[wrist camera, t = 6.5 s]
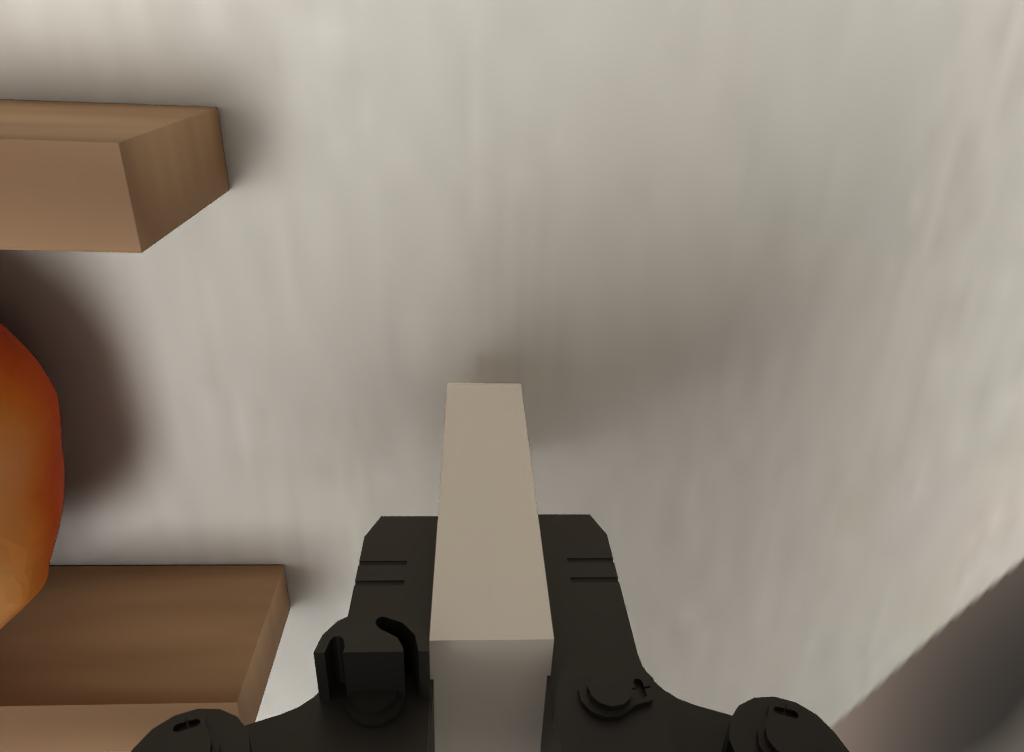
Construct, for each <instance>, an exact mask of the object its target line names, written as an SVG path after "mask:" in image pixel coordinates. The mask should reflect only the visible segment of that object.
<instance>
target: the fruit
mask: <svg viewBox="0 0 1024 752" xmlns="http://www.w3.org/2000/svg"><path fill="white" fill-rule="evenodd" d="M64 485H65V470H64V456H63V449H62V441H61V419H60V410H59V401H58V397H57V394H56V391H55V388H54V387H53V385H52V383H51V382H50V380H49V378H48V377H47V375H46V373H45V371H44V370H43V368H42V366H41V365H40V364H39V362H38V361H37V360H36V358H35V357H34V356H33V355H32V354H31V353H30V351H29V350H28V349H27V348H26V347H25V346H24V345H23V344H22V343H21V342H20V341H19V340H18V339H17V338H16V337H15V336H14V335H13V334H12V333H11V332H10V331H9V330H8V329H7V328H6V327H5V326H4V325H3V324H2V323H1V322H0V629H1V628H2V627H4V626H5V625H6V624H7V623H8V622H9V621H10V620H11V619H12V618H13V617H14V616H16V615H17V614H18V613H19V612H20V611H21V610H22V609H23V608H24V607H25V606H26V605H27V604H28V603H29V602H30V601H31V600H32V599H33V598H34V597H35V596H36V595H37V594H38V592H39V591H40V590H41V589H42V587H43V586H44V584H45V583H46V580H47V577H48V571H49V564H50V560H51V556H52V552H53V548H54V545H55V541H56V537H57V533H58V529H59V525H60V519H61V514H62V510H63V504H64Z"/></svg>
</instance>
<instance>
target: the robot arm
mask: <svg viewBox="0 0 1024 752" xmlns="http://www.w3.org/2000/svg"><path fill="white" fill-rule="evenodd" d="M314 659H315V667H316V675H317V682H318V690H319V693H318V694H317V695H316V696H315V697H313V698H312V699H310V700H309V701H307V702H306V703H304V704H303V705H301V706H300V707H298V708H295V709H293V710H291V711H288V712H286V713H283V714H281V715H278V716H274V717H271V718H268V719H265V720H261V721H258V722H255V723H252V724H248V725H245V726H244V725H243V724H242V722H241V721H240V720H239V718H238V717H237V716H235V715H232V714H230V713H228V712H226V711H223V710H221V709H195V710H192V711H188V712H185V713H181V714H178V715H175V716H173V717H171V718H170V719H168V720H166V721H165V722H163V723H161V724H160V725H158V726H156V727H155V728H153V729H152V730H151V731H150V732H149V733H148V734H147V735H146V736H145V737H144V738H143V739H142V740H141V741H140V742H139V743H138V744H137V745H136V746H135V747H134V748H133V749H132V751H131V752H849V751H848V750H847V748H846V747H845V746H844V744H843V743H842V742H841V741H840V739H839V738H838V737H837V735H836V734H835V733H834V732H833V730H831V729H830V728H829V727H828V726H827V725H826V724H825V723H824V722H823V721H822V720H821V719H820V718H819V717H818V716H817V715H816V714H814V713H813V712H811V711H809V710H808V709H806V708H804V707H802V706H801V705H799V704H797V703H795V702H792V701H788V700H784V699H781V698H777V697H760V698H753V699H751V700H749V701H747V702H745V703H743V704H741V705H739V706H738V708H737V709H736V711H735V713H734V714H733V716H731V715H728V714H724V713H721V712H717V711H714V710H710V709H707V708H703V707H699V706H696V705H693V704H690V703H688V702H685V701H682V700H680V699H677V698H676V697H674V696H673V695H671V694H669V693H668V692H666V691H664V690H663V689H662V688H661V687H660V686H659V685H658V684H656V683H655V682H654V680H653V678H652V677H651V676H650V675H649V674H648V673H647V672H646V671H645V669H644V668H643V666H642V664H641V661H640V659H639V656H638V654H637V650H636V646H635V642H634V638H633V634H632V631H631V627H630V623H629V619H628V615H627V611H626V607H625V603H624V599H623V596H622V592H621V588H620V584H619V582H618V576H617V572H616V568H615V564H614V563H613V557H612V553H611V549H610V545H609V541H608V537H607V534H606V533H605V532H604V531H603V530H602V528H601V527H600V526H599V525H598V524H597V523H596V521H595V520H594V519H593V518H592V517H591V516H590V515H538V512H537V504H536V496H535V488H534V481H533V473H532V465H531V458H530V450H529V442H528V434H527V427H526V419H525V411H524V403H523V396H522V388H521V384H516V383H447V397H446V411H445V425H444V439H443V453H442V468H441V482H440V496H439V510H438V516H381V517H380V519H379V520H378V521H377V522H376V523H375V525H374V526H373V527H372V528H371V530H370V531H369V532H368V533H367V535H366V536H365V537H364V542H363V546H362V551H361V556H360V563H359V566H358V570H357V575H356V580H355V586H354V590H353V594H352V599H351V604H350V609H349V614H348V617H346V618H344V619H341V620H339V621H337V622H336V623H335V624H334V625H333V626H332V627H331V628H330V629H329V630H328V631H327V632H325V633H324V634H323V635H322V637H321V639H320V641H319V643H318V645H317V647H316V649H315V651H314Z"/></svg>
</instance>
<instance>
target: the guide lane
mask: <svg viewBox="0 0 1024 752" xmlns="http://www.w3.org/2000/svg"><path fill="white" fill-rule="evenodd" d="M227 191H229V184H228V177H227V170H226V164H225V157H224V150H223V143H222V136H221V129H220V122H219V115H218V108H217V107H196V106H168V105H141V104H113V103H85V102H58V101H30V100H2V99H0V250H42V251H85V252H128V253H142V252H143V251H145V250H146V249H148V248H149V247H150V246H152V245H153V244H155V243H156V242H157V241H159V240H160V239H162V238H163V237H164V236H166V235H167V234H169V233H170V232H171V231H173V230H174V229H176V228H177V227H178V226H180V225H181V224H183V223H184V222H185V221H187V220H188V219H190V218H191V217H192V216H194V215H195V214H197V213H198V212H199V211H201V210H202V209H204V208H205V207H206V206H208V205H209V204H211V203H212V202H213V201H215V200H216V199H218V198H219V197H220V196H222V195H223V194H225V193H226V192H227ZM289 610H290V604H289V597H288V591H287V584H286V577H285V570H284V565H239V566H49V571H48V577H47V580H46V583H45V584H44V586H43V587H42V589H41V590H40V591H39V592H38V594H37V595H36V596H35V597H34V598H33V599H32V600H31V601H30V602H29V603H28V604H27V605H26V606H25V607H24V608H23V609H22V610H21V611H20V612H19V613H18V614H17V615H16V616H14V617H13V618H12V619H11V620H10V621H9V622H8V623H7V624H6V625H5V626H4V627H2V628H1V629H0V752H131V751H132V749H133V748H134V747H135V746H136V745H137V744H138V743H139V742H140V741H141V740H142V739H143V738H144V737H145V736H146V735H147V734H148V733H149V732H150V731H151V730H152V729H153V728H155V727H156V726H158V725H160V724H161V723H163V722H165V721H166V720H168V719H170V718H171V717H173V716H175V715H178V714H181V713H185V712H188V711H192V710H195V709H221V710H223V711H226V712H228V713H230V714H232V715H235V716H237V717H238V718H239V720H240V721H241V722H242V724H243V725H244V726H245V725H248V724H252V723H255V720H256V717H257V714H258V711H259V707H260V704H261V701H262V698H263V694H264V691H265V688H266V685H267V682H268V678H269V675H270V672H271V669H272V665H273V662H274V659H275V656H276V652H277V649H278V646H279V643H280V639H281V636H282V633H283V630H284V626H285V623H286V620H287V617H288V614H289Z"/></svg>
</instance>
